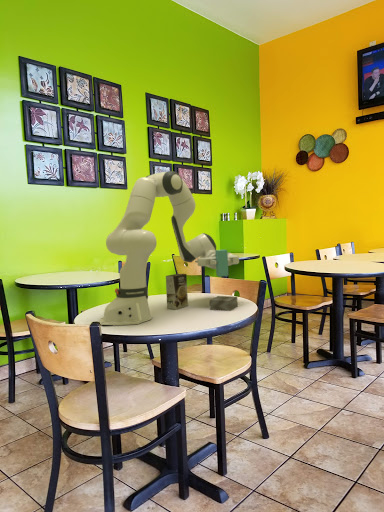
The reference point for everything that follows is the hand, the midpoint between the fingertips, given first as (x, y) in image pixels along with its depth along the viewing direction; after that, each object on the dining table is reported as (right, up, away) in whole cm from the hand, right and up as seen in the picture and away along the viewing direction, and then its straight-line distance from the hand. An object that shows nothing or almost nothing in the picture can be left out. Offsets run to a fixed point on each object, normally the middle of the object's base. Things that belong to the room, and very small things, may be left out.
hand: (222, 262), depth 184 cm
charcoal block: (+1, -22, +2) cm, 22 cm away
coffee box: (-21, -23, +10) cm, 32 cm away
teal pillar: (0, -6, +1) cm, 7 cm away
